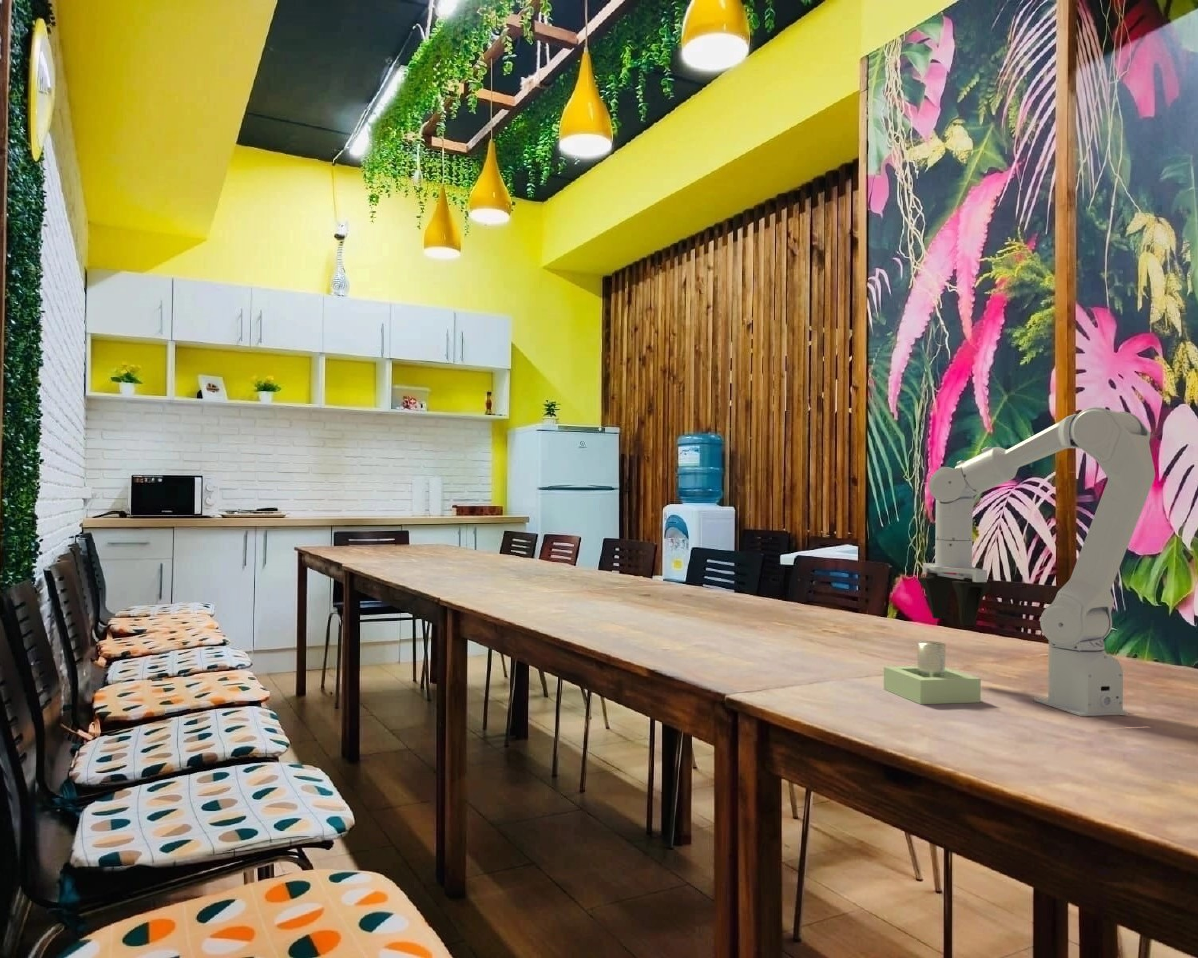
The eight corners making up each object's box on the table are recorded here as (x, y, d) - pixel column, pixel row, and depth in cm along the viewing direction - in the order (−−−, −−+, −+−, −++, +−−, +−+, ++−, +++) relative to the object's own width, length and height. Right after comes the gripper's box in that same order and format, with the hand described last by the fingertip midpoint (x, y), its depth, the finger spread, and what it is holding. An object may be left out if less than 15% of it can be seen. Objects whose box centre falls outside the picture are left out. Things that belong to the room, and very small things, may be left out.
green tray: (980, 702, 126) (980, 678, 126) (920, 704, 124) (920, 680, 124) (939, 687, 136) (940, 665, 136) (883, 688, 134) (883, 666, 134)
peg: (950, 697, 128) (951, 645, 129) (927, 699, 127) (928, 645, 128) (933, 691, 132) (934, 640, 133) (911, 692, 131) (912, 641, 132)
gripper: (907, 537, 148) (906, 615, 147) (959, 542, 133) (958, 628, 133) (943, 538, 149) (942, 615, 149) (998, 542, 135) (998, 627, 135)
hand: (952, 621), depth 141 cm, fingers open, 7 cm apart
